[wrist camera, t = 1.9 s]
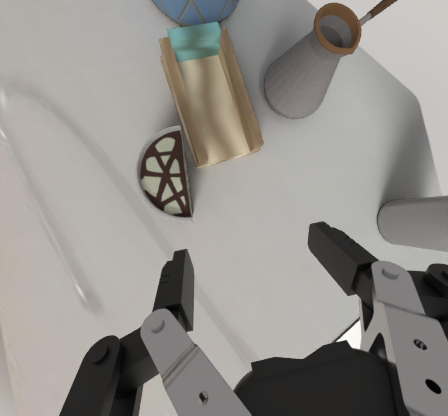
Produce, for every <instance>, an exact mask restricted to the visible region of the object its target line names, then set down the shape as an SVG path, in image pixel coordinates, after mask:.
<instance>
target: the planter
mask: <svg viewBox="0 0 448 416" xmlns="http://www.w3.org/2000/svg"><path fill="white" fill-rule="evenodd" d="M152 1H153V2H154V3H155V5H156V6H157V7H158V8H159V9H160V10H161V11H162V12H163V13H165V14H166V15H167V16H168V17H170V18H171V19H172V20H174V21H175V22H177V23H178V24H180V25H181V26H183V27H187V26H193V25H200V24H206V23H213V22H219V21H221V20H223V19H225V18H226V17H227V16H229V15H230V14H231V13H232V11H233V10H234V9H235V7H236V5H237V3H238V1H239V0H152Z"/></svg>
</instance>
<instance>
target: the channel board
mask: <svg viewBox="0 0 448 416" xmlns="http://www.w3.org/2000/svg"><path fill="white" fill-rule="evenodd" d="M167 30H168V36H169V38H163V39H159V43H160V47H161V52H162V56H160V58H161V62H162V65H163V68H164V71H165V74H166V77H167V81H168V84H169V87H170V90H171V93H172V96H173V99H174V102H175V105H176V108H177V111H178V114H179V117H180V120H181V123H182V126H183V129H184V133H185V136H186V139H187V142H188V145H189V148H190V151H191V154H192V157H193V160H194V163H195V166H196V169H198V168H202V167H205V166H209V165H213V164H216V163H220V162H223V161H227V160H230V159H234V158H237V157H241V156H244V155H248V154H251V153H255V152H258V151H259V150H260V147H261V146H262V145H263V144H264V142H263V139H262V136H261V133H260V130H259V127H258V124H257V121H256V118H255V115H254V112H253V108H252V105H251V102H250V99H249V96H248V93H247V90H246V87H245V84H244V81H243V78H242V75H241V72H240V69H239V66H238V63H237V60H236V57H235V54H234V51H233V48H232V45H231V42H230V39H229V36H228V32H227V29H220V27H219V24H218V22H213V23H206V24H200V25H193V26H187V27H180V28H174V29H167Z"/></svg>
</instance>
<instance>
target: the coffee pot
mask: <svg viewBox="0 0 448 416" xmlns="http://www.w3.org/2000/svg"><path fill="white" fill-rule="evenodd" d="M396 1H397V0H382V1H381V2H380V3H379V4H378V5H376V6H375V7H374V8H373V9H372V10H371V11H369V12H368V13H367V15H365V16H364V17H363V18H362V19H360V20H358V18H357V16H356V15H355V14H354V12H353V11H352V10H351V9H349V8H348V7H346V6H345V5H342V4H339V3H329V4H326V5H324V6H323V7H322V8H320V9H319V11H318V12H317V14H316V17H315V20H314V28H313V31H311V32H310V33H309V34H308V35H306V36H305V37H304V38H303V39H301V40H300V41H299V42H298V43H297V44H295V45H294V46H293V47H292V48H290V49H289V50H288V51H287V52H285V53H284V54H283V55H282V56H280V57H279V58H278V59H277V60H275V61H274V62H273V63H272V64H271V66H270V67H269V68H268V70H267V73H266V76H265V81H264V91H265V95H266V99H267V101H268V103H269V105H270V106H271V107H272V108H273V110H274V111H275V112H277V113H278V114H279V115H281V116H283V117H286V118H290V119H299V118H304V117H307V116H309V115H311V114H313V113H314V112H315V111H316V110H317V109H318V108H319V106H320V105H321V103H322V101H323V99H324V96H325V94H326V92H327V89H328V87H329V84H330V82H331V79H332V77H333V75H334V72H335V70H336V67H337V65H338V63H339V60H340V58H341V57H343V56H346V55H348V54H352V53H353V52H354V51H355V49H356V48H357V46H358V43H359V41H360V38H361V26H362V25H363V24H364V23H366V22H367V21H368V20H370V19H372V18H373V17H374V16H376V15H377V14H379V13H380V12H382V11H383V10H384V9H386V8H387V7H389V6H390V5H391V4H393V3H394V2H396Z"/></svg>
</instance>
